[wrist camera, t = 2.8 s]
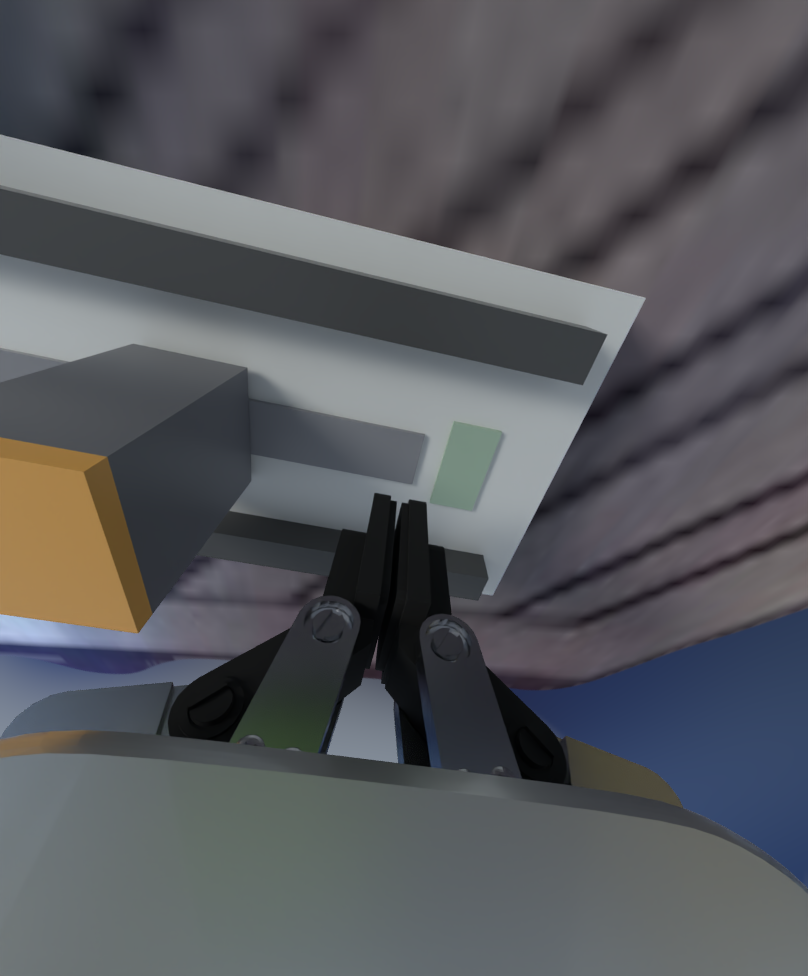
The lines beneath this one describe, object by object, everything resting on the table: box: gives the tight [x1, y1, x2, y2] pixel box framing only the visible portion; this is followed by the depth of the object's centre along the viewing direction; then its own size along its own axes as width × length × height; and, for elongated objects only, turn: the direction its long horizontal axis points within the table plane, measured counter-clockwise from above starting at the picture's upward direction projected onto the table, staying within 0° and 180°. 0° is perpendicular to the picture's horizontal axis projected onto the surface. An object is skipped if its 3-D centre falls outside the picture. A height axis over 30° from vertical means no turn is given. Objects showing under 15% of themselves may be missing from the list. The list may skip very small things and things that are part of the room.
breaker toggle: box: [0, 344, 252, 633], centre depth 11 cm, size 5×4×8 cm
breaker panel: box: [0, 135, 646, 600], centre depth 15 cm, size 15×30×5 cm, turn 78°
